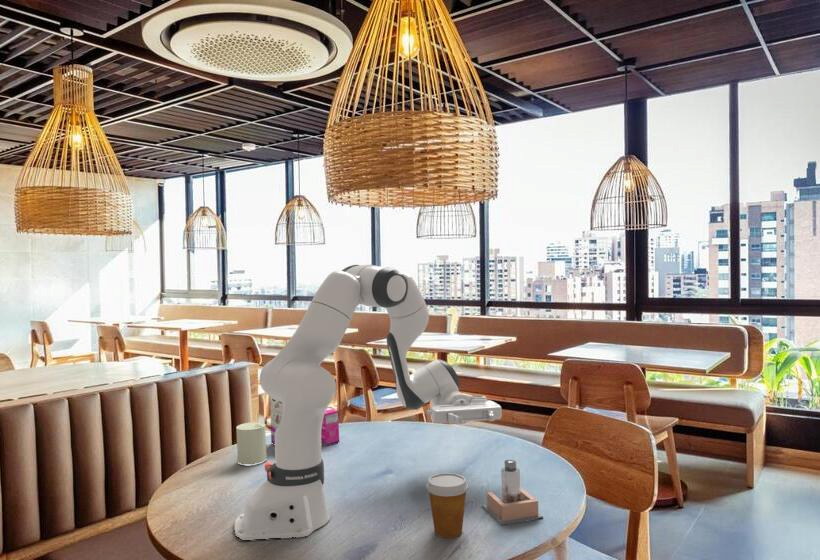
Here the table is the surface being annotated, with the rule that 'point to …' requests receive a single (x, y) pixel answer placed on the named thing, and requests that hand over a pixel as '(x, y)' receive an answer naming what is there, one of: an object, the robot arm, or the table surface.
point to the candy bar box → (275, 416)
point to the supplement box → (330, 427)
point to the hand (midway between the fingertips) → (476, 419)
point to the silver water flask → (510, 482)
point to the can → (251, 442)
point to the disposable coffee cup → (447, 503)
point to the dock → (512, 509)
